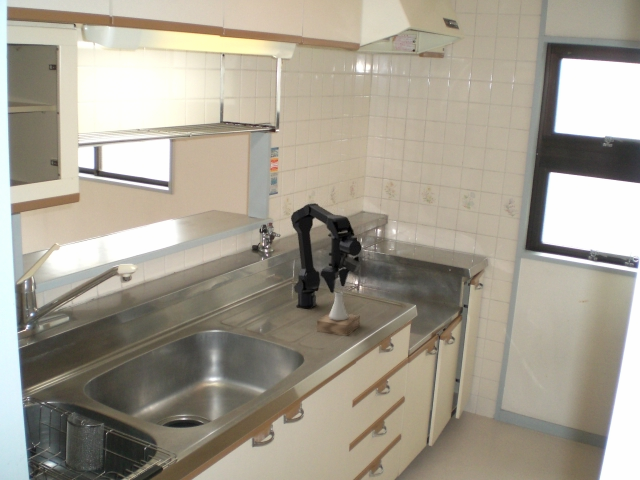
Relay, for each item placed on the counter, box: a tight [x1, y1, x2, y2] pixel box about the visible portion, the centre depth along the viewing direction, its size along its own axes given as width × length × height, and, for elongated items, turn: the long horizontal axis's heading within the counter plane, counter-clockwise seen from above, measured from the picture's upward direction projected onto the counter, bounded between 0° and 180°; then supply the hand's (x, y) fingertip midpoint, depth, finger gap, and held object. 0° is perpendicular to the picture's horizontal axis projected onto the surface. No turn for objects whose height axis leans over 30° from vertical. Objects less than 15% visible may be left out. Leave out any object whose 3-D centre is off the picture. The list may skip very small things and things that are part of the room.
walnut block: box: [316, 311, 361, 337], centre depth 259 cm, size 12×12×4 cm
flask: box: [329, 290, 349, 321], centre depth 258 cm, size 7×7×10 cm
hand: (337, 289), depth 265 cm, fingers open, 9 cm apart
